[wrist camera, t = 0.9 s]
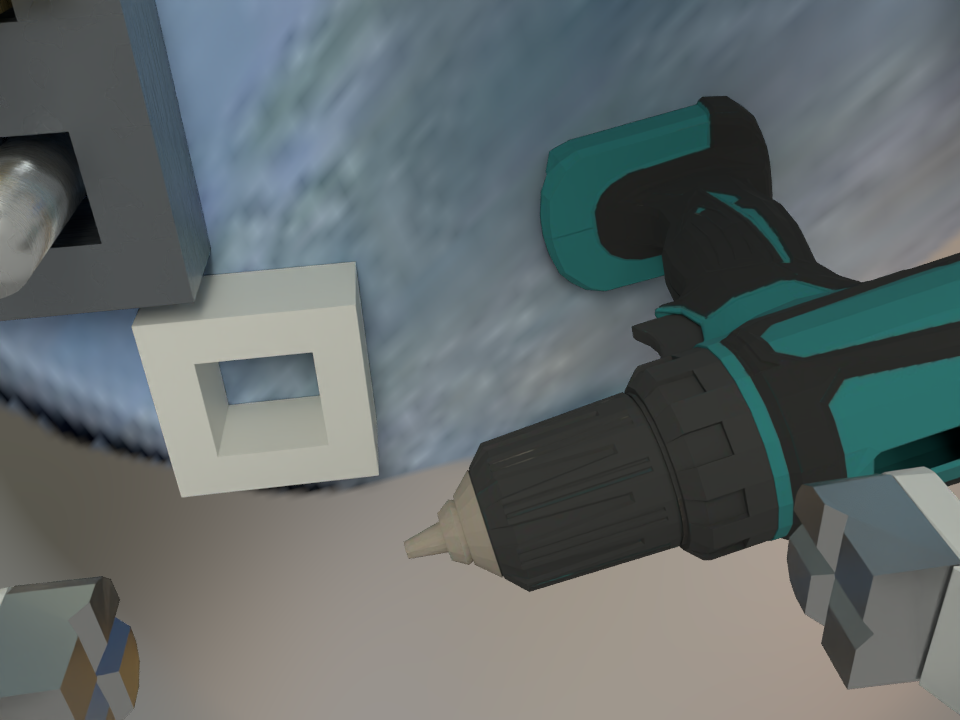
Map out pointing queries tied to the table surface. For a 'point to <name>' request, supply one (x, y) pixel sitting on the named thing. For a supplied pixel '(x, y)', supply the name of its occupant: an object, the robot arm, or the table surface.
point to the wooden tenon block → (5, 5)
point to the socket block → (105, 155)
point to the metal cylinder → (34, 201)
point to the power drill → (707, 366)
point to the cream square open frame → (269, 424)
